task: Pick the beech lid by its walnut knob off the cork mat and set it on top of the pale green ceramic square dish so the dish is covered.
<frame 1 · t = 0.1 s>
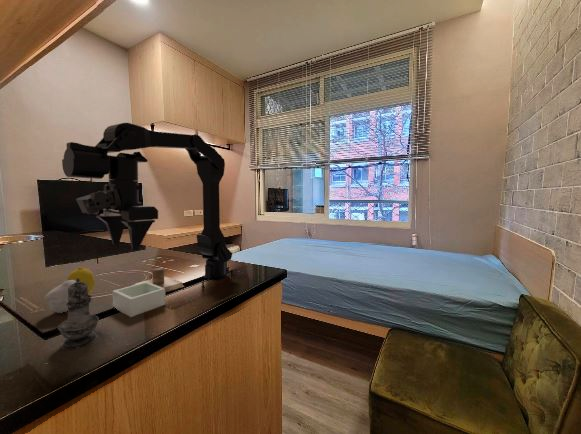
hand: (125, 247, 61), 15 cm above the counter, tool pointing down, fingers open, 9 cm apart
lid: (158, 287, 74), resting on mat
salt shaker: (79, 342, 48), on the counter
mat: (158, 288, 74), on the counter
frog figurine: (66, 312, 59), on the counter
dish: (139, 307, 62), on the counter
lemon: (81, 298, 66), on the counter
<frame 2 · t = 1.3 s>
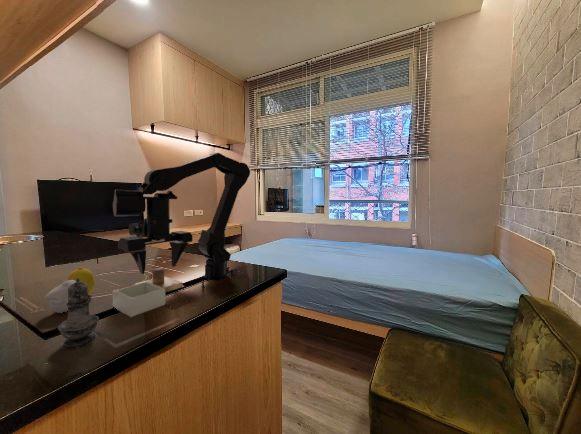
hand: (158, 269, 74), 6 cm above the counter, tool pointing down, fingers open, 9 cm apart
nothing on the counter moved.
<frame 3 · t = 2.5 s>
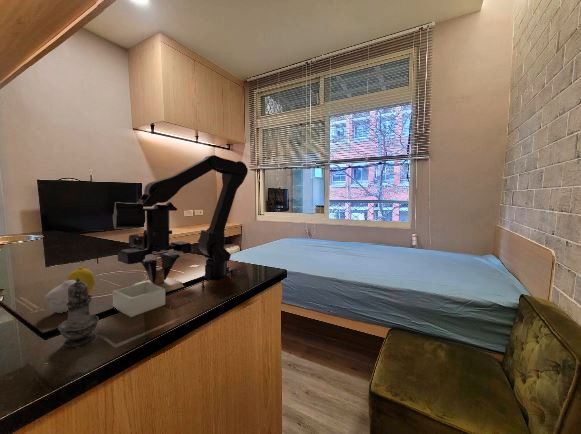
hand: (158, 281, 74), 2 cm above the counter, tool pointing down, fingers closed on lid, 3 cm apart
lid: (158, 287, 74), resting on mat, touching gripper
everything else where it was.
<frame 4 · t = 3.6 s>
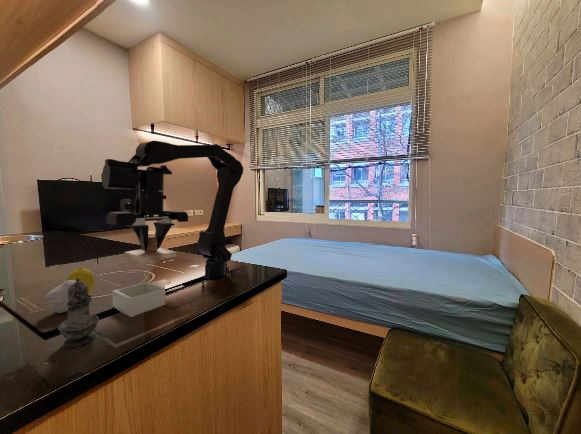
hand: (151, 249, 69), 12 cm above the counter, tool pointing down, fingers closed on lid, 3 cm apart
lid: (150, 256, 69), point 11 cm above the counter, touching gripper
everything else where it was.
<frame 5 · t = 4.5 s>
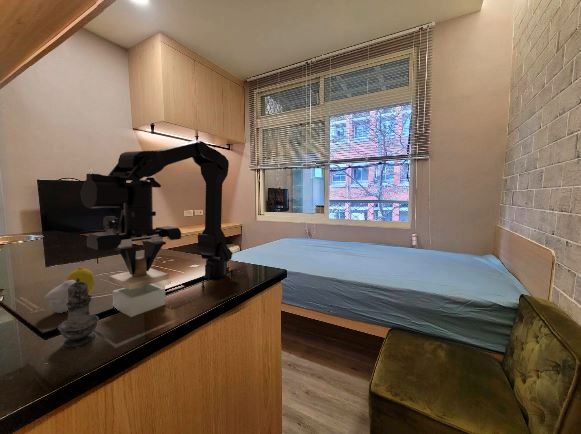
hand: (139, 272, 61), 9 cm above the counter, tool pointing down, fingers closed on lid, 3 cm apart
lid: (139, 279, 62), point 7 cm above the counter, touching gripper
everything else where it was.
when the fingers open (8 cm above the counter, at t = 5.2 s): lid drops 1 cm, resting on dish.
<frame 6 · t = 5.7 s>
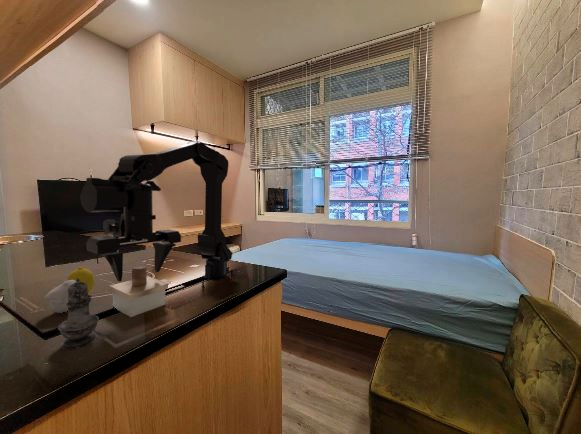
hand: (139, 276, 61), 8 cm above the counter, tool pointing down, fingers open, 8 cm apart
lid: (139, 289, 62), point 4 cm above the counter, touching dish
everything else where it was.
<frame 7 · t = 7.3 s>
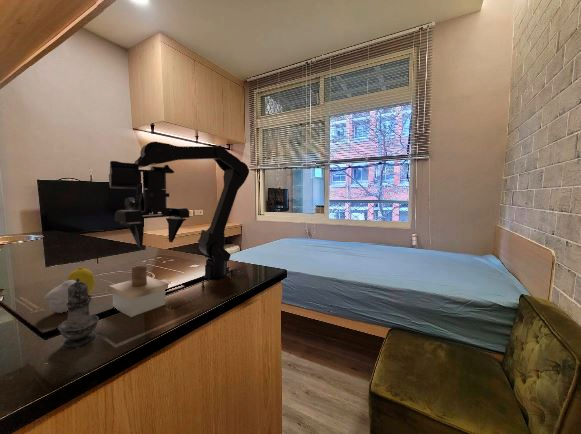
hand: (156, 244, 73), 13 cm above the counter, tool pointing down, fingers open, 9 cm apart
nothing on the counter moved.
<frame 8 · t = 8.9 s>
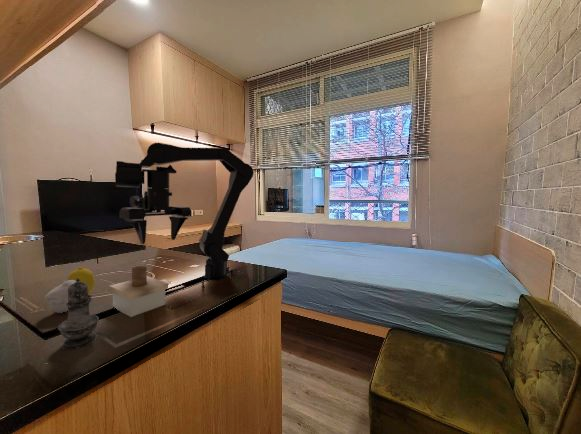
hand: (158, 241, 76), 13 cm above the counter, tool pointing down, fingers open, 9 cm apart
nothing on the counter moved.
at the end: lid 0.1 cm off-centre on the dish, point 4.5 cm above the dish's base; lid tilted 0°; the gripper is holding nothing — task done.
